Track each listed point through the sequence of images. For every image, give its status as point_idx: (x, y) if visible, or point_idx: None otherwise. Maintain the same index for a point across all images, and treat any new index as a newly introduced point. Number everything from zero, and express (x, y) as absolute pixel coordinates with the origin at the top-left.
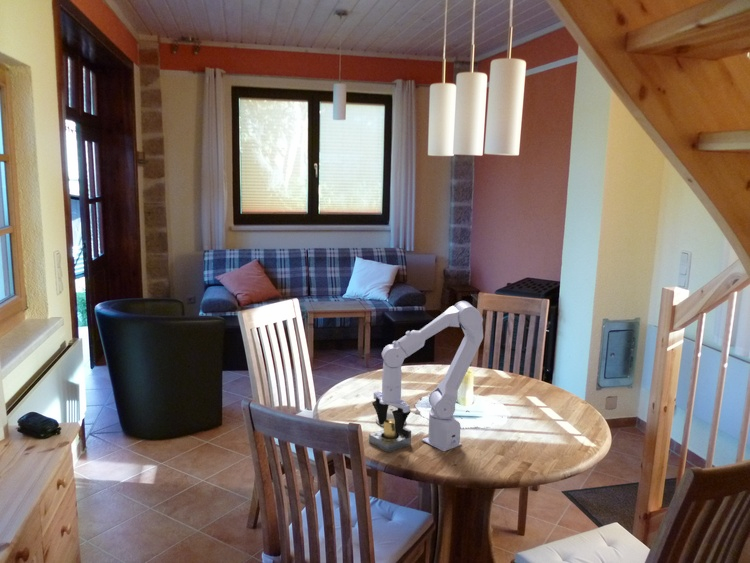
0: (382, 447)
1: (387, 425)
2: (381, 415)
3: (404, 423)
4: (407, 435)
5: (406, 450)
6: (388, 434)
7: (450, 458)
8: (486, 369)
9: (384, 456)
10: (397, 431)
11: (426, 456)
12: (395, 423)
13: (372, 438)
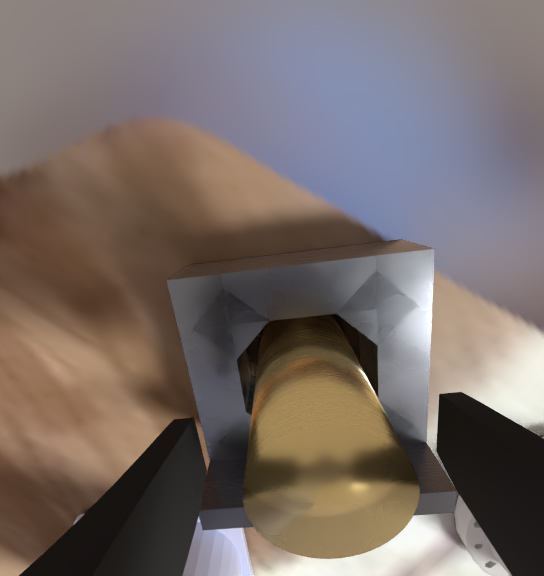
0: (248, 260)
1: (286, 419)
2: (533, 510)
3: (463, 542)
4: (219, 472)
5: (169, 377)
6: (272, 361)
7: (4, 497)
8: None
9: (145, 209)
10: (162, 434)
11: (59, 423)
12: (114, 517)
13: (375, 250)
